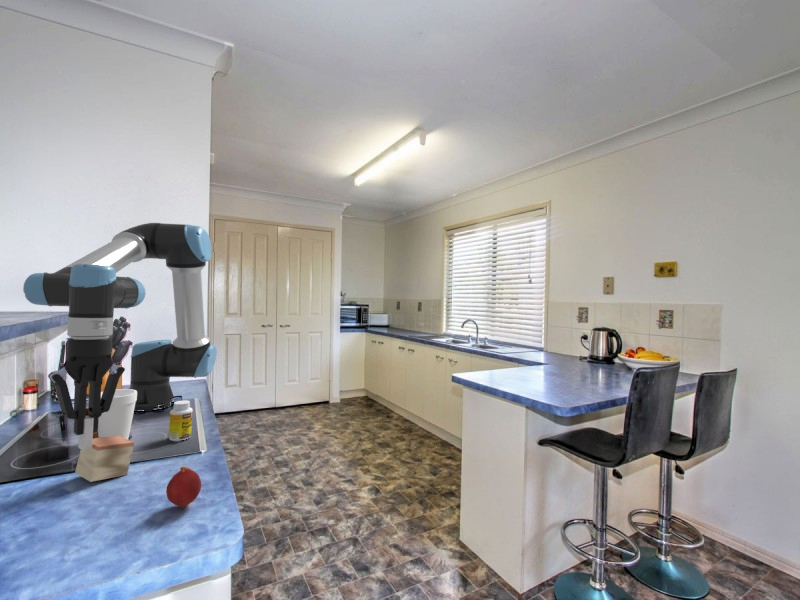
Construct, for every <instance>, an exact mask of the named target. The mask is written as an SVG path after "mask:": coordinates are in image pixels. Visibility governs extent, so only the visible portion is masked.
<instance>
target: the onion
mask: <svg viewBox="0 0 800 600" xmlns="http://www.w3.org/2000/svg"><path fill="white" fill-rule="evenodd" d="M200 477H201V476H199V474H198V473H197V472H196V471H195V470H194V469H190V468H189V467H187V466H186V465H183V466H181V467H180V471H177V473H175V474H174V475H173V476H172V477H171V479H170V480H169V481H168V483H167V486H166V498H167V499H168V501H169V502H170V503H172V505H174V506H177V507H179V508H181V509H184V508H186V507H188V506H189V505H190V504H191V503H193V502H194V501H196V499H197V498H198V496H199V494H200V492H201V489H202V481H201V478H200Z"/></svg>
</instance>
